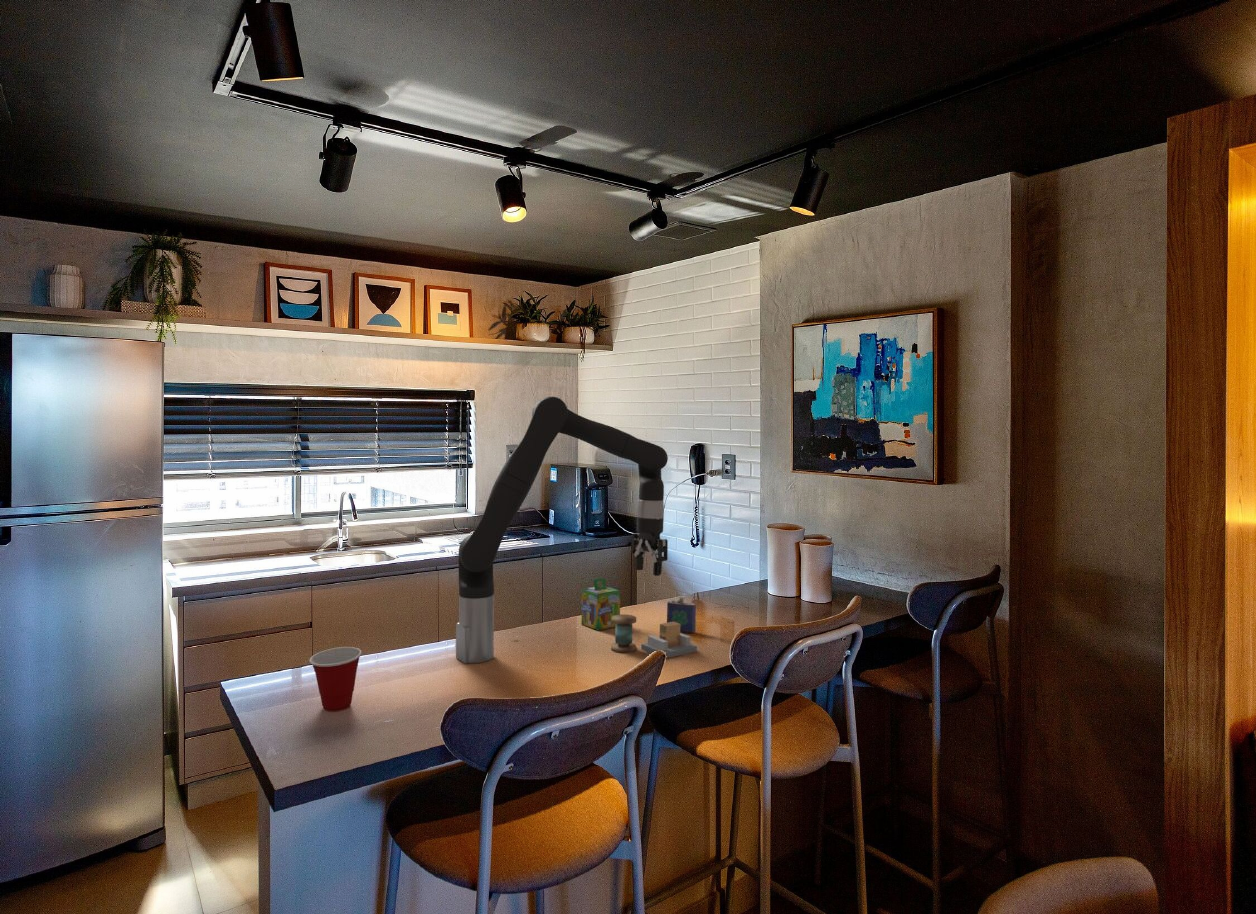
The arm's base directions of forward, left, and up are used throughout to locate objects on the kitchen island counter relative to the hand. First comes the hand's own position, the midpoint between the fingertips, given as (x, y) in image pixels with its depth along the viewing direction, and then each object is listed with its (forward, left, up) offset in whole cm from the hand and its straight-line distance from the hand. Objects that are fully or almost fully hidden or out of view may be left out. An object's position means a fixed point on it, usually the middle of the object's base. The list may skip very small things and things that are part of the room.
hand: (648, 572), depth 210 cm
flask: (+19, +8, -22) cm, 30 cm away
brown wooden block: (+4, -5, -20) cm, 21 cm away
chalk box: (+2, +27, -22) cm, 35 cm away
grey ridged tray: (+4, -5, -22) cm, 23 cm away
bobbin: (-6, +3, -22) cm, 23 cm away
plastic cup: (-84, +3, -22) cm, 87 cm away
